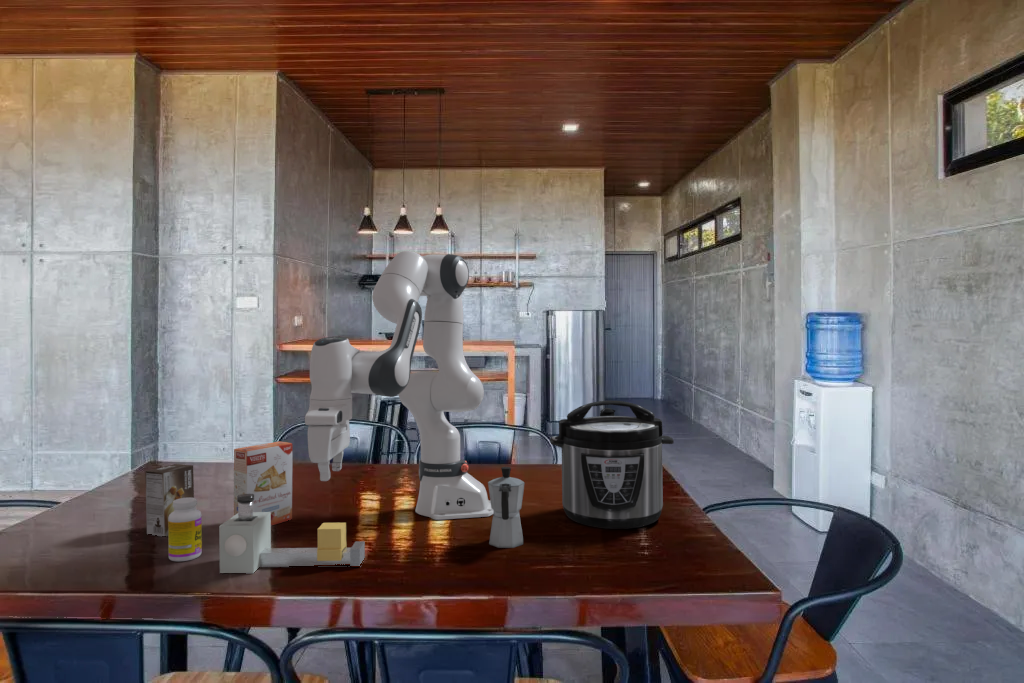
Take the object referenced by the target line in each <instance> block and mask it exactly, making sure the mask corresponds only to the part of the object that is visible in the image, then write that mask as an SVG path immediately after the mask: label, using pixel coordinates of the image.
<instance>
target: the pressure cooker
mask: <svg viewBox="0 0 1024 683" xmlns="http://www.w3.org/2000/svg"><path fill="white" fill-rule="evenodd" d="M611 405H612V406H618V407H627V408H629V409H630V410H631V411H632V414H634V416H627V415H626V416H625V415H623V416H622V415H616V414H615V412H616V410H615V409H613V408H610V407H604V408H602V409H601V410H600V413H599V416H597V415H596V416H591V417H586V415H587V414H588V413H589V412H590V410H591V409H592V407H601V406H611ZM663 430H664V429H663V421H662V419H660V418H657V417H655V414H654V412H652V411H651V410H649V409H647V408H646V407H643V406H641V405H639V404H637V403H633V402H629V401H622V400H600V401H598V400H597V401H593V402H590V403H586V404H583V405H581V406H579V407H577V408H574V409H573V410H571V411H570V412H568V414H566V418H562V419H560V420H559V421H558V435H555V436H550V439H549V440H550V441H549V443H550V445H553V446H556V447H559V448H561V485H562V486H561V488H562V489H561V492H562V493H561V496H562V497H561V499H562V502H561V503H562V508H563V509H562V510H563V511H564V513H565V515H566V517H567V518H569V519H570V520H572V521H573V522H576V523H578V524H581V525H585V526H589V527H592V528H593V527H594V528H599V529H600V528H601V529H612V530H613V529H620V530H621V529H634V528H641V527H646V526H649V525H651V524H654V523H655V522H657V521H658V520H659V518H660V517H661V515H662V511H663V506H664V502H663V500H664V499H663V498H664V497H663V494H664V493H663V445H673V444H674V438H673V437H671V436H669V435H664V434H663V432H664V431H663Z"/></svg>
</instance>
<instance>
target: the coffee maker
mask: <svg viewBox="0 0 1024 683" xmlns="http://www.w3.org/2000/svg"><path fill="white" fill-rule="evenodd" d="M500 469H501V475H502V476H501V477H496V478H493V479H492V480H489V481H487V485H488V494H489V499H490V501H491V508H492V509H493V514H492V521H491V528H490V535H489V542H488V545H490V546H493V547H496V548H498V549H500V548H501V549H502V548H503V549H504V548H505V549H514V548H516V547H520V546H522V545H524V536H523V529H522V524H521V517H520V516H521V515H520V510H521V509H522V507H523V506H522V505H523V497H524V490H525V482H524V481H523V480H521V479H519V478H517V477H511V476H510V475H511V469H512V467H510V466H502V467H501V468H500Z"/></svg>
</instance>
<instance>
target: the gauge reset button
mask: <svg viewBox="0 0 1024 683" xmlns="http://www.w3.org/2000/svg"><path fill="white" fill-rule="evenodd" d="M253 500H254V494H242V495H238V496H237V502H238V521H252V520H253Z"/></svg>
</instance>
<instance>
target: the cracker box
mask: <svg viewBox="0 0 1024 683" xmlns="http://www.w3.org/2000/svg"><path fill="white" fill-rule="evenodd" d="M242 494H254V500H253V512H271V527H272V526H274V525H278V524H281V523H285V522H287V521H288V520H289V521H291V519H292V520H293V443H292V442H287V441H274V442H268V443H263V444H256V445H250V446H245V447H244V446H242V447H238V448H234V449H233V516H234V515H236V514H237V513H238V502H237V496H238V495H242Z"/></svg>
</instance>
